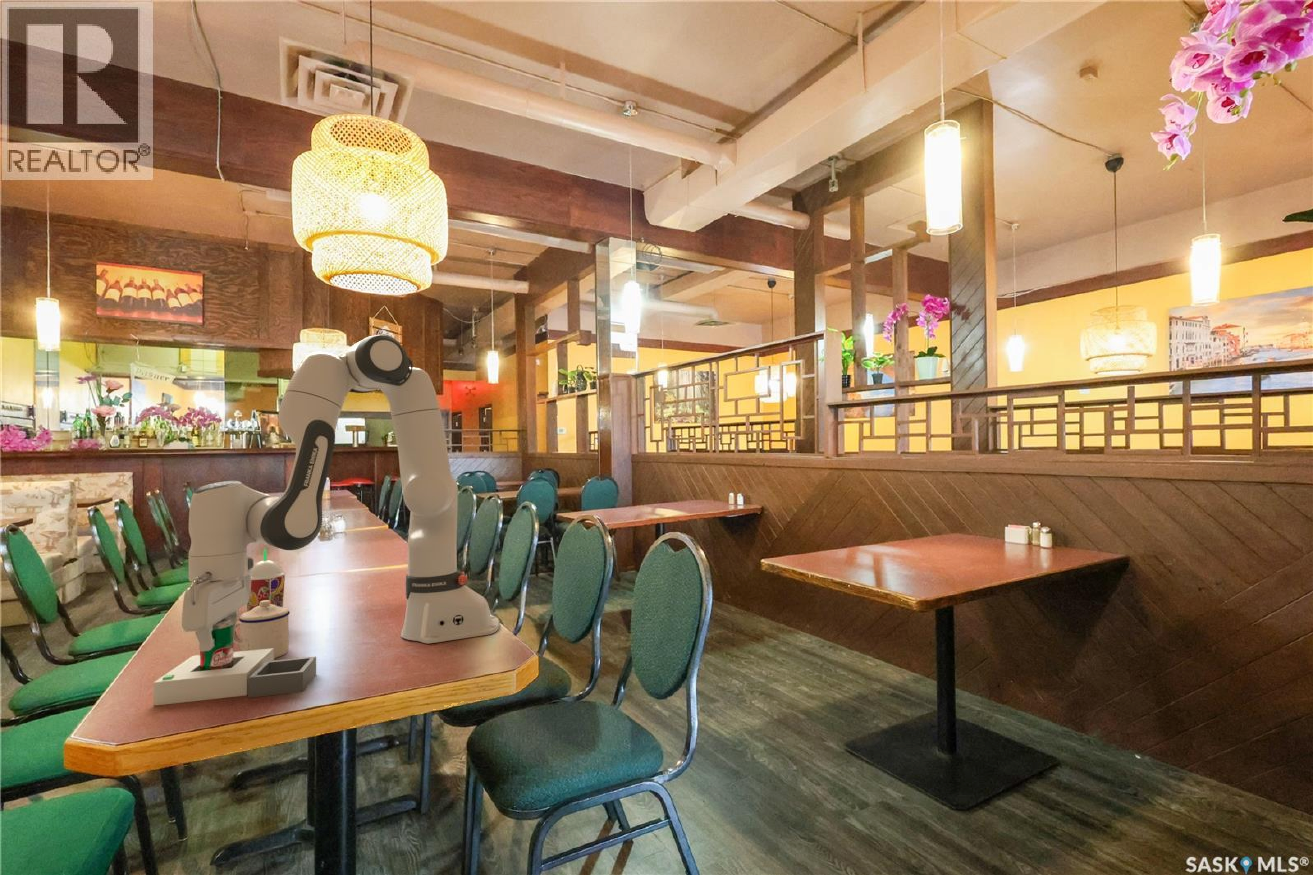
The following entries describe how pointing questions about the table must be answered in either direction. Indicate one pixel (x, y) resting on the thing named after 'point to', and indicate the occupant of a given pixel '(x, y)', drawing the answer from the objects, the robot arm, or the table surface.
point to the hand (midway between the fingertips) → (218, 641)
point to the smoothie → (266, 583)
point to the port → (209, 679)
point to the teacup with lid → (264, 629)
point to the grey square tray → (282, 676)
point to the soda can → (219, 648)
